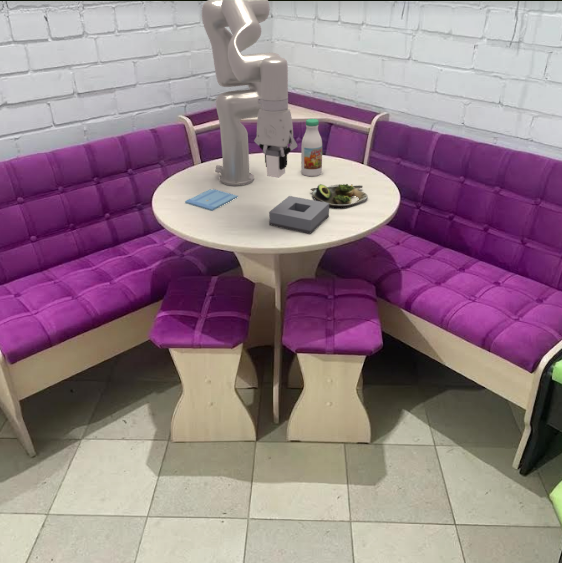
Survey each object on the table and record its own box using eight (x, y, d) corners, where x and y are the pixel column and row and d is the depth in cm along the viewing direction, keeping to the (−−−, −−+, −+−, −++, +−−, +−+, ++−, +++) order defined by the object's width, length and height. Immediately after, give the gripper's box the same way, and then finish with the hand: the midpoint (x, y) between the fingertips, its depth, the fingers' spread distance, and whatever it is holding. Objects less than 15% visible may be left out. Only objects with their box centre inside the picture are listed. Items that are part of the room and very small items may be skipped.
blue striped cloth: (211, 191, 200) (211, 188, 199) (238, 198, 194) (237, 195, 193) (185, 204, 190) (184, 200, 190) (212, 212, 184) (211, 208, 184)
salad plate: (347, 183, 204) (347, 171, 202) (380, 199, 191) (381, 186, 189) (303, 195, 195) (303, 182, 193) (335, 213, 182) (336, 199, 180)
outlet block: (269, 225, 174) (269, 211, 172) (289, 208, 185) (289, 195, 183) (310, 233, 169) (310, 220, 166) (328, 216, 179) (329, 203, 177)
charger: (267, 175, 169) (265, 150, 165) (273, 171, 172) (272, 145, 168) (278, 177, 167) (277, 151, 163) (285, 173, 170) (284, 147, 166)
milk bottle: (297, 174, 212) (297, 121, 202) (308, 168, 217) (308, 116, 207) (314, 178, 208) (315, 124, 198) (325, 172, 214) (327, 119, 203)
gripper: (242, 104, 160) (245, 166, 169) (294, 110, 153) (295, 175, 162) (256, 98, 165) (258, 159, 175) (307, 104, 158) (306, 167, 168)
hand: (276, 166), depth 168 cm, fingers closed on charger, 4 cm apart
